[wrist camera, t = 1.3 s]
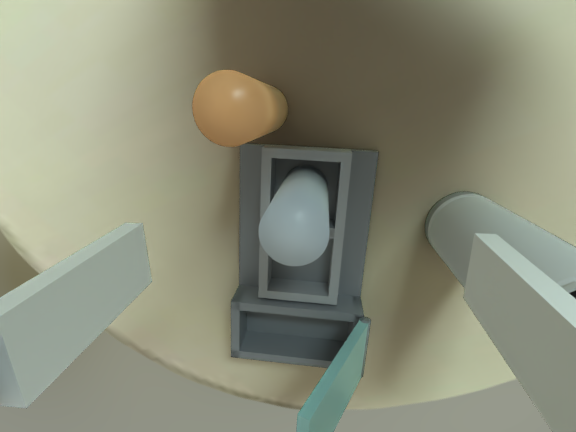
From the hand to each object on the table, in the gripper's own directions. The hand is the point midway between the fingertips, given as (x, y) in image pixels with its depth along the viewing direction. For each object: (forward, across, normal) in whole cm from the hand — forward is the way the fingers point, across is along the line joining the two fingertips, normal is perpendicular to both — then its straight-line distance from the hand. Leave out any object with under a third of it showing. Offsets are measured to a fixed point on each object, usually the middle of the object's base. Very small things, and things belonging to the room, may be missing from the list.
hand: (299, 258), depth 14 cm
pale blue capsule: (+18, -1, -1) cm, 18 cm away
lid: (+9, +2, -15) cm, 17 cm away
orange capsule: (+18, -5, +5) cm, 20 cm away
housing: (+18, -1, -8) cm, 20 cm away
